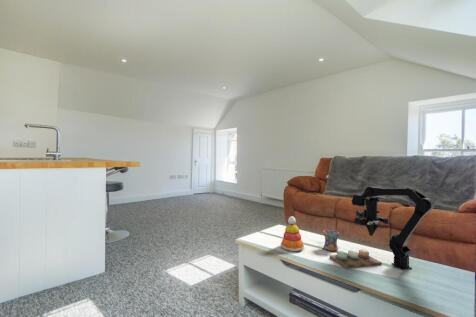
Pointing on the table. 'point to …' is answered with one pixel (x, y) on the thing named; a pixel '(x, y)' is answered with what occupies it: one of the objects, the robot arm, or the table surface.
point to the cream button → (352, 254)
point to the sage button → (342, 255)
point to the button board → (355, 261)
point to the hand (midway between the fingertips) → (371, 235)
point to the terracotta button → (363, 253)
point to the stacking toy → (292, 237)
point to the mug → (331, 240)
